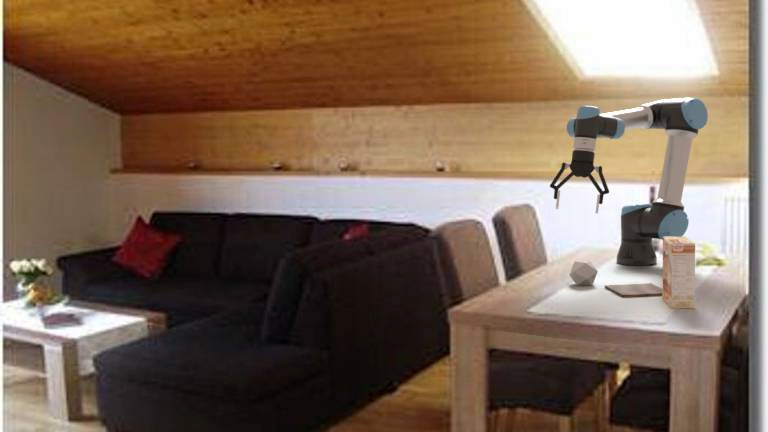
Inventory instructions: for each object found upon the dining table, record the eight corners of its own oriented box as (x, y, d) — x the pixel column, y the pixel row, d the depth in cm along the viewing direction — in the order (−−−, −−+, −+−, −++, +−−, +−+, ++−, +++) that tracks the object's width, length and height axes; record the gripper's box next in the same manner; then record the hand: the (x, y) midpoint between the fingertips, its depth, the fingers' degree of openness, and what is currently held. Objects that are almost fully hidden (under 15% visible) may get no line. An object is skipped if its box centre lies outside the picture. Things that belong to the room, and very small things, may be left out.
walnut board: (651, 285, 272) (651, 283, 272) (671, 295, 256) (671, 292, 256) (604, 287, 270) (604, 285, 270) (622, 297, 255) (622, 294, 254)
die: (591, 290, 271) (604, 264, 273) (568, 276, 272) (581, 251, 274) (585, 294, 279) (598, 269, 281) (562, 281, 280) (575, 256, 282)
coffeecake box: (661, 297, 253) (662, 236, 251) (685, 298, 251) (686, 236, 249) (669, 308, 238) (670, 243, 236) (695, 308, 237) (696, 242, 235)
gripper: (547, 146, 281) (540, 206, 281) (621, 153, 275) (613, 215, 275) (548, 148, 288) (541, 207, 289) (620, 154, 282) (613, 215, 283)
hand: (576, 211), depth 282 cm, fingers open, 13 cm apart
